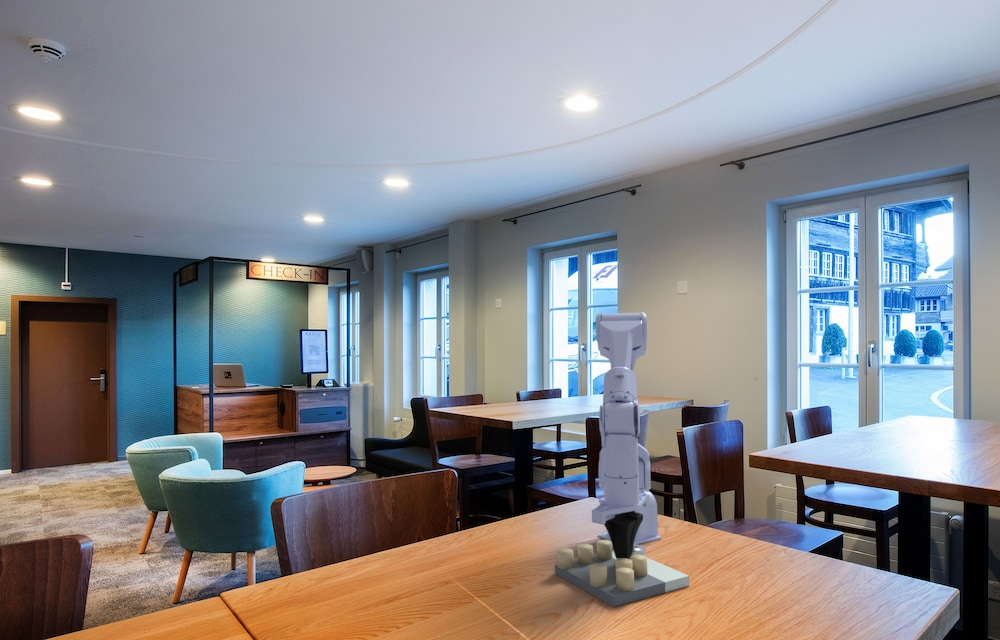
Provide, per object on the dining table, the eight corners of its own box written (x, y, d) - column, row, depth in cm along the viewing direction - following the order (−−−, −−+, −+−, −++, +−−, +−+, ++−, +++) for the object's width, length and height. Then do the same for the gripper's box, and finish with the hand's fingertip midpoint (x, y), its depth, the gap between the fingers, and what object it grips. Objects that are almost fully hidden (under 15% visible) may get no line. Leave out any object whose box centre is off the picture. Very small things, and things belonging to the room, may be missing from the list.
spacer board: (625, 556, 108) (624, 534, 108) (689, 585, 95) (688, 559, 95) (553, 573, 101) (553, 549, 101) (612, 607, 88) (611, 579, 88)
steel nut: (631, 554, 105) (631, 541, 105) (650, 560, 102) (650, 547, 102) (616, 559, 103) (615, 546, 103) (634, 566, 99) (634, 553, 100)
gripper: (623, 465, 109) (625, 542, 108) (575, 479, 98) (577, 564, 98) (659, 470, 104) (661, 551, 103) (612, 485, 93) (614, 575, 93)
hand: (623, 558), depth 100 cm, fingers closed
